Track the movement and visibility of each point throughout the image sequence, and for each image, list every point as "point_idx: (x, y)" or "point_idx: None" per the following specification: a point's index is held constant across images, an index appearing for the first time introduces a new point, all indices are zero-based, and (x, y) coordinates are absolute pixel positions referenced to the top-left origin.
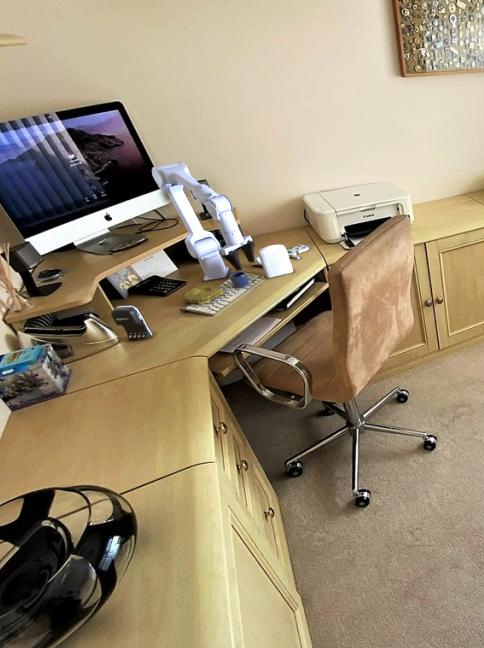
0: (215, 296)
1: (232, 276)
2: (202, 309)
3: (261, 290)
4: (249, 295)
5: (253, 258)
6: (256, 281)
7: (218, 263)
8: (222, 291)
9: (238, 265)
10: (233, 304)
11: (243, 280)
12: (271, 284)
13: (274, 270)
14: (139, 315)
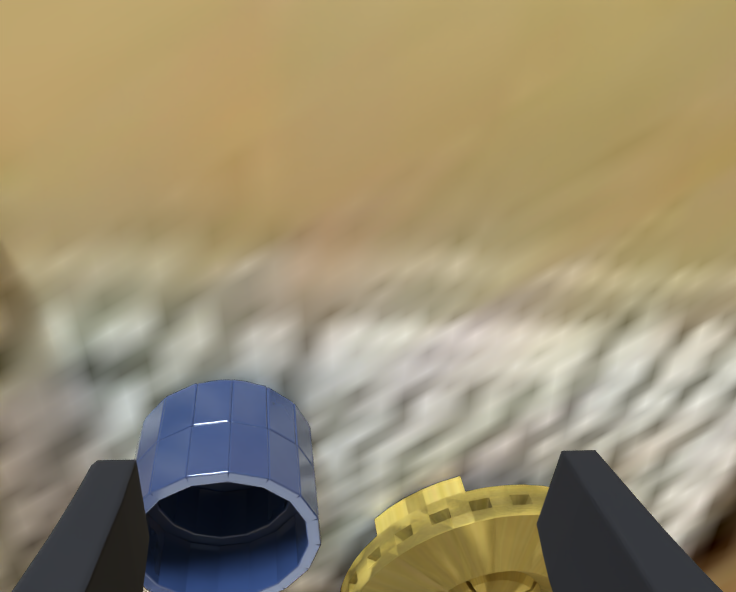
0: (546, 494)
1: (229, 575)
2: (711, 464)
3: (351, 124)
4: (485, 205)
5: (104, 520)
6: (109, 334)
7: None
8: (407, 507)
9: (665, 551)
10: (681, 260)
11: (261, 429)
12: (155, 76)
13: None
14: None
